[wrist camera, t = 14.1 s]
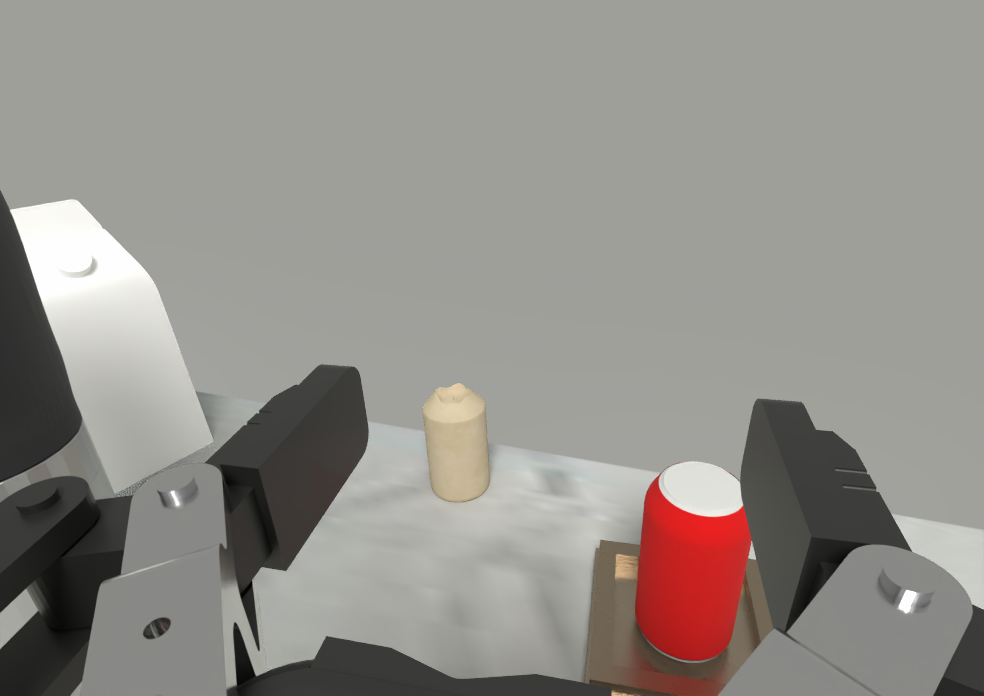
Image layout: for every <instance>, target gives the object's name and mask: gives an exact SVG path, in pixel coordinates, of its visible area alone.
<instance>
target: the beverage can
mask: <svg viewBox="0 0 984 696" xmlns="http://www.w3.org/2000/svg"><path fill="white" fill-rule="evenodd" d="M751 541H752V539H751V535H750V531H749V526H748V522H747V518H746V514H745V510H744V506H743V502H742V497H741V487H740V481H739V480H738V479H737V478H736V477H735V476H734V475H732V474H731V473H729V472H728V471H726V470H724V469H722V468H719V467H717V466H714V465H712V464H708V463H703V462H681V463H677V464H674V465H671V466H669V467H667V468H666V469H665V470H664V471H663V472H662V473H661V474H660V475H659V476H658V477H657V478H656V479H655V480H654V481H653V482H652V483H651V485H650V486H649V488H648V490H647V493H646V496H645V502H644V513H643V524H642V534H641V545H640V556H639V567H638V578H637V588H636V599H635V616H636V620H637V623H638V626H639V629H640V631H641V633H642V634H643V636H644V637H645V639H646V640H647V641H648V642H649V644H650V645H651V646H653V647H654V648H655V649H656V650H657V651H659V652H660V653H662V654H663V655H665V656H667V657H669V658H671V659H674V660H677V661H681V662H686V663H702V662H706V661H709V660H712V659H714V658H715V657H717V656H718V655H720V654H721V653H722V652H723V651H724V650H725V649H726V647H727V646H728V645H729V643H730V641H731V638H732V635H733V630H734V625H735V620H736V615H737V610H738V605H739V600H740V595H741V590H742V585H743V581H744V576H745V571H746V566H747V561H748V556H749V551H750V546H751Z"/></svg>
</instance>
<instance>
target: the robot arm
mask: <svg viewBox="0 0 984 696" xmlns="http://www.w3.org/2000/svg"><path fill="white" fill-rule="evenodd" d="M368 433H369V432H368V422H367V417H366V409H365V403H364V397H363V391H362V385H361V379H360V374H359V372H358V370H357V369H356V368H355V367H349V366H335V365H319V366H318V367H316V368H315V370H313V371H312V373H310V374H309V375H308V376H307V377H306V378H305V379H304V380H303V381H302V383H300V384H299V385H294V386H292V387H291V388H289V389H287V390H285V391H283V392H281V393H279V394H278V395H276V396H274V397H273V398H272V399H271V400H270V401H269V402H268V403H267V404H266V405H265V406H264V407H263V408H262V409H260V410H259V414H257V413H256V414H255V415H254V416H253V417H252V418H251V419H250V420H249V421H248V422H247V426H246V425H244V426H243V427H242V428H241V429H240V430H239V431H238V432H237V433H236V434H235V435H233V436H232V437H231V438H230V439H229V440H228V441H227V442H226V443H225V444H224V445H223V446H222V447H221V448H220V449H219V450H218V451H217V452H216V453H215V454H214V455H213V456H212V457H211V458H210V459H209V460H207V461H206V462H205V463H191V464H184V465H180V466H176V467H173V468H170V469H168V470H165V471H163V472H161V473H159V474H157V475H155V476H153V477H152V478H150V479H149V480H147V481H146V482H145V483H144V484H143V485H141V486H140V487H139V488H138V490H137V491H136V492H135V494H134V495H133V496H124V497H116V496H115V493H114V491H113V489H112V486H111V484H110V481H109V479H108V477H107V474H106V472H105V469H104V467H103V465H102V462H101V460H100V457H99V456H98V453H97V451H96V448H95V446H94V443H93V441H92V439H91V436H90V434H89V431H88V429H87V427H86V424H85V422H84V419H83V417H82V415H81V412H80V410H79V408H78V405H77V403H76V401H75V398H74V395H73V392H72V388H71V385H70V381H69V378H68V374H67V371H66V367H65V364H64V361H63V358H62V355H61V352H60V349H59V346H58V344H57V341H56V339H55V336H54V334H53V331H52V329H51V326H50V323H49V321H48V318H47V315H46V312H45V309H44V306H43V304H42V301H41V298H40V295H39V292H38V289H37V286H36V283H35V279H34V276H33V273H32V270H31V267H30V264H29V261H28V258H27V255H26V252H25V248H24V245H23V243H22V240H21V237H20V234H19V232H18V229H17V226H16V224H15V221H14V218H13V216H12V214H11V212H10V209H9V207H8V205H7V203H6V201H5V199H4V197H3V195H2V193H1V191H0V696H611V692H612V688H609V687H604V686H598V685H593V684H587V683H582V682H576V681H571V680H565V679H559V678H554V677H548V676H543V675H537V674H532V675H518V676H503V677H489V678H474V679H456V678H452V677H450V676H448V675H445V674H443V673H441V672H439V671H437V670H435V669H433V668H431V667H429V666H427V665H425V664H423V663H421V662H419V661H417V660H415V659H413V658H411V657H409V656H407V655H404V654H402V653H400V652H398V651H396V650H394V649H392V648H388V647H383V646H377V645H372V644H366V643H361V642H355V641H350V640H344V639H339V638H333V637H328V636H326V638H325V640H324V642H323V644H322V646H321V648H320V649H319V651H318V653H317V655H316V657H315V659H314V660H306V661H301V662H296V663H291V664H288V665H284V666H281V667H278V668H275V669H272V670H270V671H267V666H266V659H265V651H264V642H263V634H262V626H261V618H260V610H259V602H258V594H257V588H256V584H255V581H254V577H255V575H256V574H257V572H258V571H259V570H260V568H261V567H265V568H271V569H278V570H284V571H286V570H287V569H288V567H289V566H290V564H291V563H292V561H293V560H294V558H295V557H296V555H297V554H298V552H299V551H300V549H301V548H302V546H303V545H304V543H305V542H306V540H307V539H308V537H309V536H310V534H311V533H312V531H313V530H314V528H315V527H316V525H317V524H318V522H319V521H320V519H321V518H322V516H323V515H324V513H325V512H326V510H327V509H328V507H329V506H330V504H331V503H332V501H333V500H334V498H335V497H336V495H337V494H338V492H339V491H340V489H341V488H342V486H343V485H344V483H345V482H346V480H347V479H348V477H349V476H350V474H351V473H352V471H353V470H354V468H355V467H356V465H357V464H358V462H359V461H360V459H361V458H362V456H363V455H364V452H365V450H366V447H367V442H368ZM740 478H741V479H740V487H741V497H742V502H743V506H744V510H745V514H746V518H747V522H748V526H749V531H750V535H751V539H752V543H753V547H754V551H755V555H756V559H757V563H758V568H759V572H760V576H761V580H762V584H763V588H764V592H765V596H766V600H767V604H768V609H769V613H770V617H771V621H772V625H773V629H774V630H772V631H771V632H770V633H769V634H768V635H767V636H766V637H765V638H764V640H763V641H762V642H761V643H760V644H759V646H758V647H757V648H756V649H755V651H754V652H753V653H752V654H751V655H750V657H749V658H748V659H747V660H746V662H745V663H744V664H743V665H742V666H741V668H740V669H739V670H738V671H737V673H736V674H735V675H734V676H733V677H732V679H731V680H730V681H729V682H728V684H727V685H726V686H725V687H724V688H723V690H722V691H721V692H720V693H719V695H718V696H984V610H983V609H981V608H979V607H976V606H974V605H972V603H971V600H970V598H969V596H968V594H967V592H966V591H965V589H964V588H963V587H962V586H961V584H960V583H959V582H958V581H957V580H956V579H955V578H954V577H953V576H952V575H951V574H949V573H948V572H947V571H946V570H944V569H943V568H942V567H940V566H938V565H937V564H935V563H934V562H932V561H930V560H928V559H927V558H925V557H923V556H920V555H918V554H916V553H914V552H912V551H911V549H910V547H909V545H908V543H907V542H906V540H905V538H904V536H903V534H902V533H901V531H900V529H899V527H898V525H897V524H896V522H895V520H894V518H893V517H892V515H891V513H890V511H889V509H888V508H887V506H886V504H885V502H884V501H883V499H882V497H881V495H880V493H879V492H876V486H875V484H874V483H873V481H872V479H871V477H870V475H867V470H866V468H865V466H864V465H863V463H862V461H861V459H860V457H859V456H858V454H857V452H856V450H855V449H853V448H852V447H851V446H850V445H848V444H847V443H846V442H845V441H843V439H841V438H840V437H839V436H838V435H836V434H835V433H834V432H833V431H821V430H816V429H815V427H814V425H813V423H812V421H811V419H810V417H809V414H808V413H807V410H806V408H805V406H804V405H803V403H802V402H795V401H782V400H769V399H757V400H756V402H755V404H754V406H753V411H752V415H751V420H750V425H749V430H748V436H747V441H746V446H745V451H744V456H743V461H742V466H741V477H740Z"/></svg>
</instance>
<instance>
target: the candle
mask: <svg viewBox="0 0 984 696" xmlns="http://www.w3.org/2000/svg"><path fill="white" fill-rule="evenodd" d="M423 417H424V426H425V435H426V444H427V453H428V462H429V471H430V480H431V486H432V489H433V491H434V493H435V494H436V495H437V496H438V497H440V498H441V499H444V500H446V501H451V502H465V501H469V500H472V499H475V498H477V497H479V496H480V495H482V494H483V493H484V492H485V491H486V489H487V488H488V485H489V460H488V442H487V424H486V407H485V401H484V399H483V398H482V397H481V396H479V395H478V394H477V393H475V392H473V391H471V390H470V389H468V388H466V387H465V386H464V385H462V384H460V383H457V384H454V385H453V386H451V387H449V388H443V387H442V388H438V389H436V390H435V392H434V393H433V394H432V396H431V397H430V398H429V399H428V400H427V401H426V402H425V404H424V405H423Z"/></svg>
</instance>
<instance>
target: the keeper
mask: <svg viewBox="0 0 984 696" xmlns="http://www.w3.org/2000/svg"><path fill="white" fill-rule="evenodd" d="M639 556H640V545H636V544H628V543H620V542H613V541H605V540H600V549H598V548H596V556H595V568H594V580H593V591H592V603H591V615H590V627H589V638H588V650H587V662H586V673H585V683H587V684H593V685H598V686H604V687H609V688H612V692H611V696H718V695H719V693H720V692H721V691H722V690H723V688H724V687H725V686H726V685H727V684H728V682H729V681H730V680H731V679H732V677H733V676H734V675H735V674H736V673H737V671H738V670H739V669H740V668H741V666H742V665H743V664H744V663H745V662H746V660H747V659H748V658H749V657H750V655H751V654H752V653H753V652H754V651H755V649H756V648H757V647H758V646H759V644H760V643H761V642H762V641H763V640H764V638H765V637H766V636H767V635H768V634H769V633H770V632H771V631H772V630H774V629H773V625H772V621H771V617H770V613H769V609H768V604H767V600H766V596H765V592H764V588H763V584H762V580H761V576H760V572H759V568H758V563H757V560H753V559H748V561H747V566H746V571H745V576H744V581H743V585H742V590H741V595H740V600H739V605H738V610H737V615H736V620H735V625H734V630H733V635H732V638H731V641H730V643H729V645H728V646H727V647H726V649H725V650H724V651H723V652H722V653H721V654H720V655H718V656H717V657H715V658H714V659H712V660H709V661H706V662H702V663H686V662H681V661H677V660H674V659H671V658H669V657H667V656H665V655H663V654H662V653H660V652H659V651H657V650H656V649H655V648H654V647H653V646H651V645H650V644H649V642H648V641H647V640H646V639H645V637H644V636H643V634H642V633H641V631H640V629H639V626H638V623H637V620H636V616H635V599H636V588H637V578H638V567H639Z"/></svg>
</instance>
